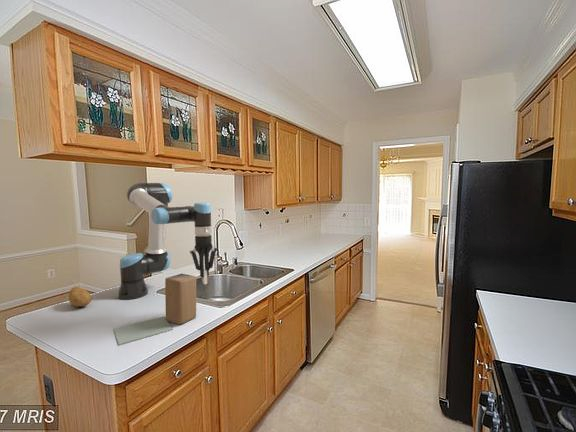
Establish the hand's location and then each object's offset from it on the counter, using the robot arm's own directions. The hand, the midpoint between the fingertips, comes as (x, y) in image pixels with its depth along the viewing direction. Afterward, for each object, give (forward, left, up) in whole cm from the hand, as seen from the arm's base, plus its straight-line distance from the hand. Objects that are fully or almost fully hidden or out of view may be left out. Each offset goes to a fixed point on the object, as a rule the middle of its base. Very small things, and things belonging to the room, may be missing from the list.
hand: (204, 283), depth 138 cm
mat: (0, -28, -15) cm, 31 cm away
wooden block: (0, -12, -15) cm, 19 cm away
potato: (-49, -49, -15) cm, 71 cm away
